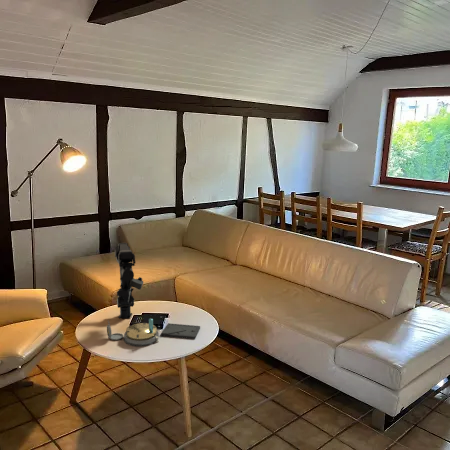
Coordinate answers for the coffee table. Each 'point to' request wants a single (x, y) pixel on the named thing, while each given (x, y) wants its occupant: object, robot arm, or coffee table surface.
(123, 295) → the robot arm
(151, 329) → the tan round piece
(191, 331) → the picture frame
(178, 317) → the coffee table surface
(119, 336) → the pocket watch
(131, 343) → the dark grey round disc
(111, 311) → the coffee table surface
